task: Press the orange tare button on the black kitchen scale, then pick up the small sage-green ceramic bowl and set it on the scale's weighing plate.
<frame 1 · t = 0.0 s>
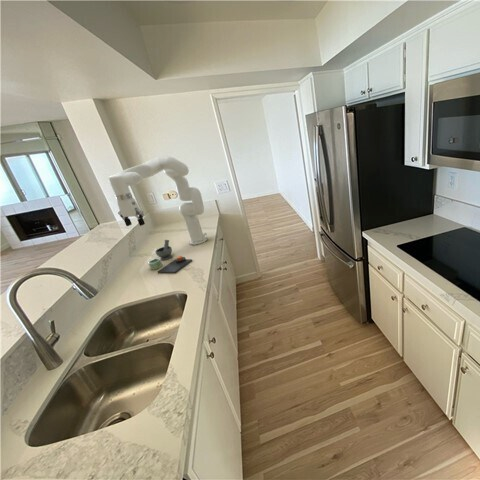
hand: (135, 225, 157), 31 cm above the worktop, tool pointing down, fingers open, 9 cm apart
mortar and pestle: (167, 257, 186), on the worktop
bowl: (156, 267, 173), on the worktop
scale: (175, 267, 170), on the worktop
tare button: (179, 258, 174), point 4 cm above the worktop, slide at 0.1 cm
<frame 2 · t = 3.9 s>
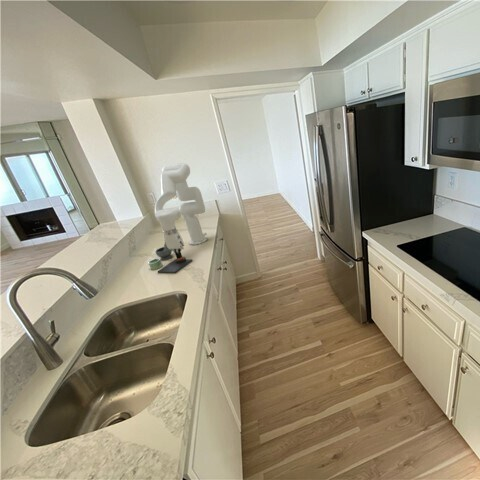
hand: (179, 257, 174), 4 cm above the worktop, tool pointing down, fingers closed
tare button: (180, 258, 174), point 3 cm above the worktop, slide at -0.2 cm, touching gripper
everything else where it was.
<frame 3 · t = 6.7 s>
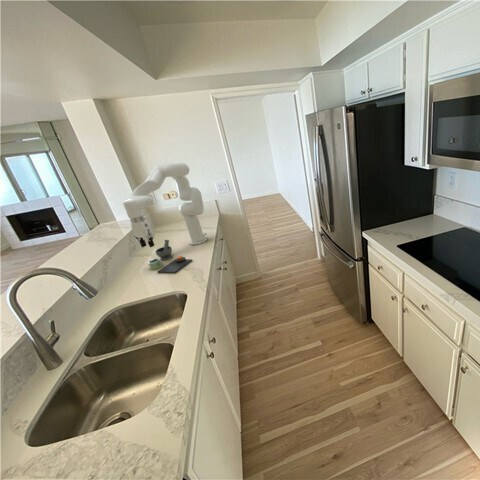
hand: (148, 246, 167), 15 cm above the worktop, tool pointing down, fingers open, 5 cm apart
tare button: (179, 258, 174), point 3 cm above the worktop, slide at 0.1 cm
everything else where it was.
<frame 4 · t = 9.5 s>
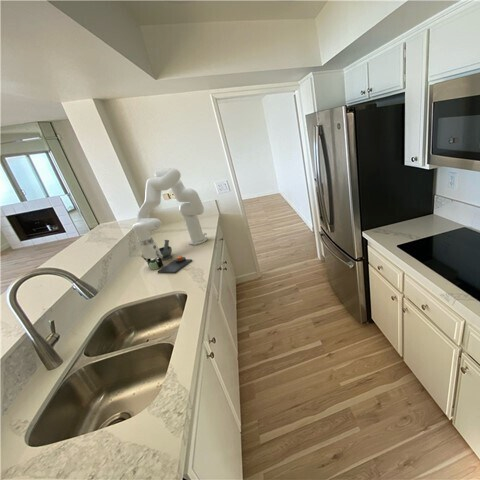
hand: (156, 266, 173), 1 cm above the worktop, tool pointing down, fingers closed on bowl, 6 cm apart
bowl: (156, 267, 173), on the worktop, touching gripper
everything else where it was.
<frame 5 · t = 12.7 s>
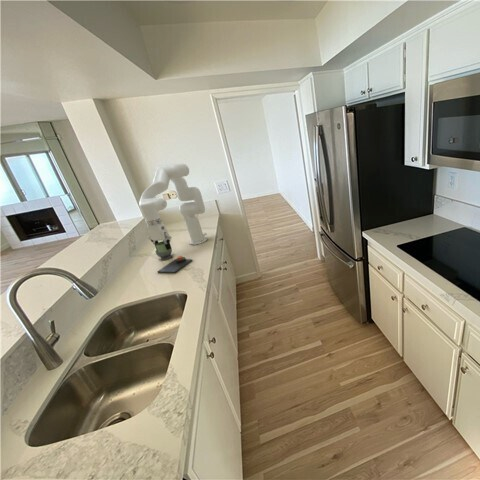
hand: (164, 249, 163), 14 cm above the worktop, tool pointing down, fingers closed on bowl, 6 cm apart
bowl: (164, 250, 163), point 13 cm above the worktop, touching gripper
everything else where it was.
when the fingers open (2 cm above the worktop, at t = 15.9 s): bowl stays where it is, resting on scale.
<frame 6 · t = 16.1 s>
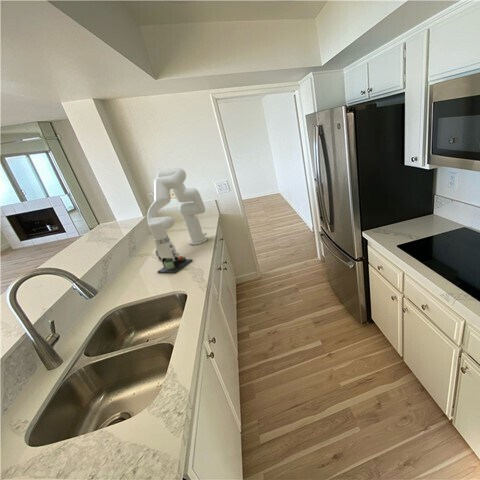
hand: (171, 265, 167), 2 cm above the worktop, tool pointing down, fingers open, 7 cm apart
bowl: (172, 267, 168), point 1 cm above the worktop, touching scale
everything else where it was.
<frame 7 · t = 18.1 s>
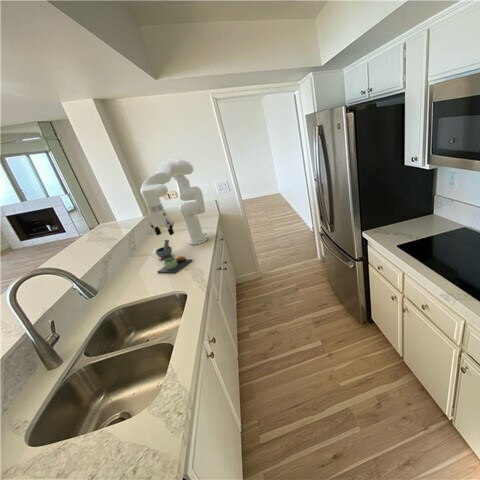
hand: (165, 234, 165), 22 cm above the worktop, tool pointing down, fingers open, 9 cm apart
nothing on the worktop moved.
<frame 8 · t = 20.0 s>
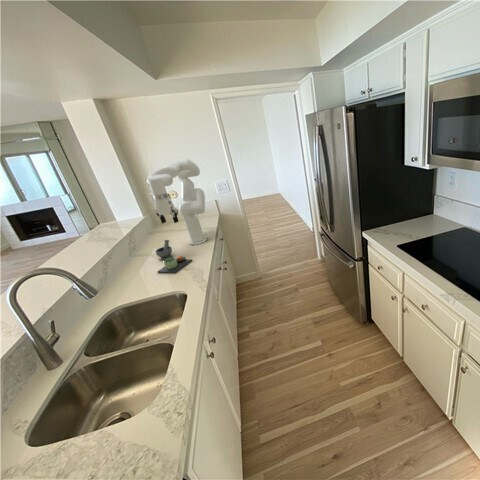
hand: (170, 222, 172), 26 cm above the worktop, tool pointing down, fingers open, 9 cm apart
nothing on the worktop moved.
at the end: tare button pushed in 0.9 cm at the most during the clip, back to where it started at the end; bowl inside the target area on the scale (0.1 cm from its centre), point 1.4 cm above the scale's base; bowl touching scale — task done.
